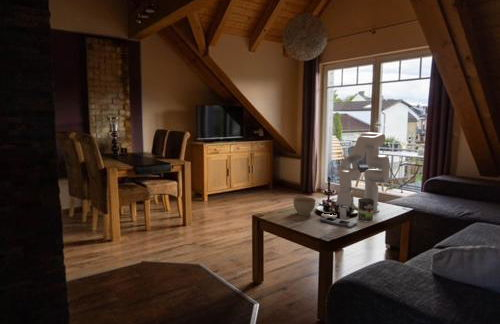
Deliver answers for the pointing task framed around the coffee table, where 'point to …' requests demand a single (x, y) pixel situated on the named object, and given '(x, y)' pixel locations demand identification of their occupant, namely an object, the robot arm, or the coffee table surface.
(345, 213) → the light grey block
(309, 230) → the coffee table surface
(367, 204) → the coffee can
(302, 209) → the planter bowl
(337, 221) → the dark grey flat plate
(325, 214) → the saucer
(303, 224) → the coffee table surface
